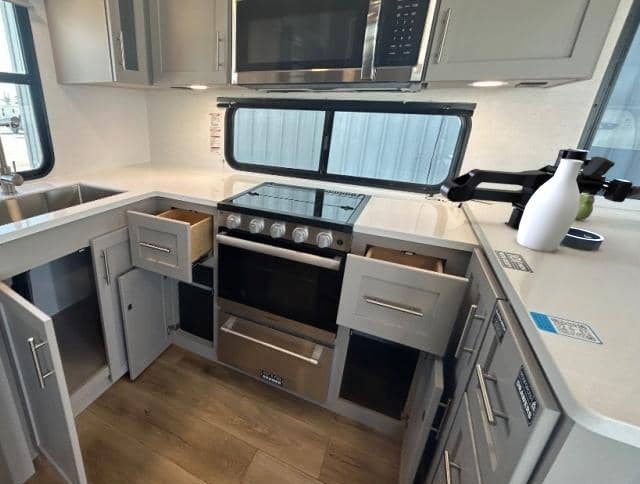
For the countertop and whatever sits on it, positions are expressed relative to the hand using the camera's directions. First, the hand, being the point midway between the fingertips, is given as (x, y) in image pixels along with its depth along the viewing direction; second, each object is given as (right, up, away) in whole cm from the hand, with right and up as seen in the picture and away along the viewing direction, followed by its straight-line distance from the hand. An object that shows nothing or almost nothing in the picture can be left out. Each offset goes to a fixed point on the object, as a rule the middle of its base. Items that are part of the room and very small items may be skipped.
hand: (628, 187), depth 103 cm
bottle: (-33, -18, -4) cm, 38 cm away
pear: (+7, -9, +22) cm, 25 cm away
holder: (-19, -18, -1) cm, 26 cm away
